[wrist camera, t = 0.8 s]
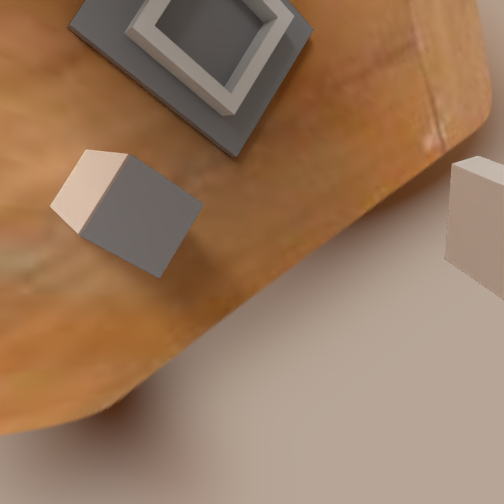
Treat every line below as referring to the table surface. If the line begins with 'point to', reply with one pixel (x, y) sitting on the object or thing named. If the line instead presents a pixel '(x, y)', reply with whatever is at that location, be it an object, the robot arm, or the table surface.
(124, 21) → the dock
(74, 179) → the block
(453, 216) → the robot arm
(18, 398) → the table surface
